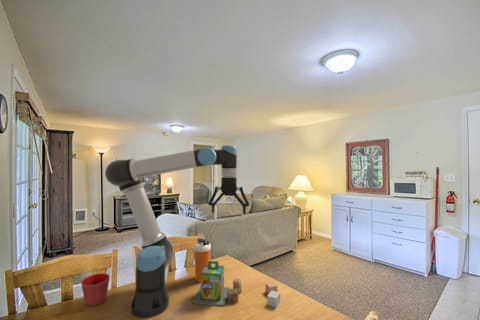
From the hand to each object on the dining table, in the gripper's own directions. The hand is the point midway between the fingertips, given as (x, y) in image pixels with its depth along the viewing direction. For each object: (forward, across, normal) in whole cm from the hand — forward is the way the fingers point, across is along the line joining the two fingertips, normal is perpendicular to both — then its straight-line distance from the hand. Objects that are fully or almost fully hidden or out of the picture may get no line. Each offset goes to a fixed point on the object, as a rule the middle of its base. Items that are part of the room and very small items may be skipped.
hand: (228, 219), depth 117 cm
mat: (+33, -6, -9) cm, 34 cm away
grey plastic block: (+33, +22, -11) cm, 41 cm away
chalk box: (+32, -6, -9) cm, 34 cm away
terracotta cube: (+33, +21, -3) cm, 39 cm away
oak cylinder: (+33, +5, -4) cm, 33 cm away
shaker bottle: (+33, -15, +6) cm, 37 cm away
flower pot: (+33, -56, -20) cm, 68 cm away
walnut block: (+33, +4, -11) cm, 35 cm away
